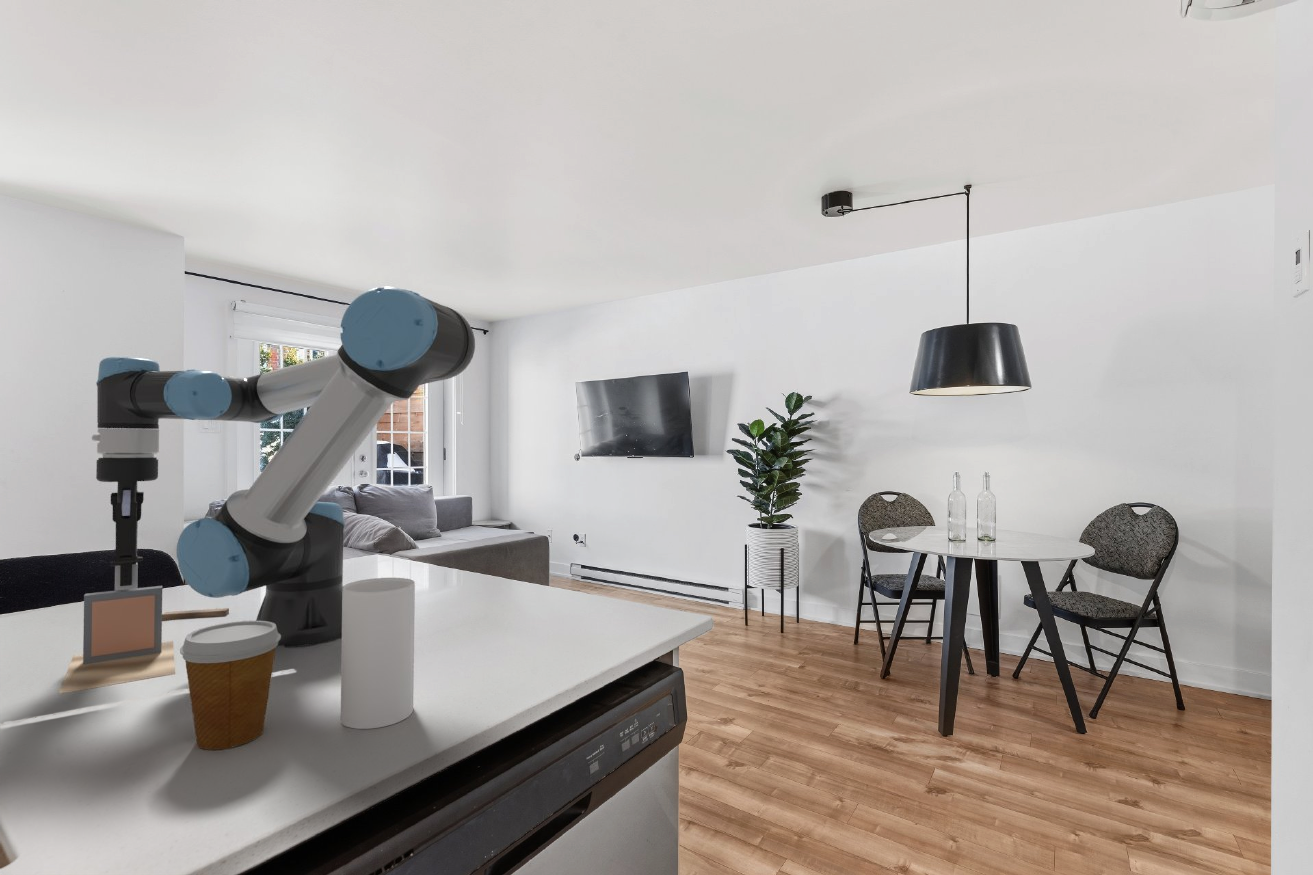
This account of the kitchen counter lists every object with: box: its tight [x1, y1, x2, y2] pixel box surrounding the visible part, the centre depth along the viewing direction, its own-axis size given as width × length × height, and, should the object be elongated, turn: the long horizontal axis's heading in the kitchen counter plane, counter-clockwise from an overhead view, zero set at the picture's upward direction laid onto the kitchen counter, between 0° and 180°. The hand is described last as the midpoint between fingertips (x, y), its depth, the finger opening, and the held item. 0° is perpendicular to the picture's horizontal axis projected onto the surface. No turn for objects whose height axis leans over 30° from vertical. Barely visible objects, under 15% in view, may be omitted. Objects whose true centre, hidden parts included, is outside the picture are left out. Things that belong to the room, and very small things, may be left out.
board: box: [58, 640, 176, 695], centre depth 93 cm, size 18×12×1 cm, turn 38°
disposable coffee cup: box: [179, 620, 281, 751], centre depth 72 cm, size 10×10×12 cm
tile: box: [82, 585, 163, 665], centre depth 96 cm, size 2×9×10 cm, turn 128°
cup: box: [340, 577, 416, 730], centre depth 78 cm, size 8×8×16 cm
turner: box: [162, 607, 230, 622], centre depth 117 cm, size 18×6×2 cm, turn 108°
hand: (125, 604), depth 100 cm, fingers closed
